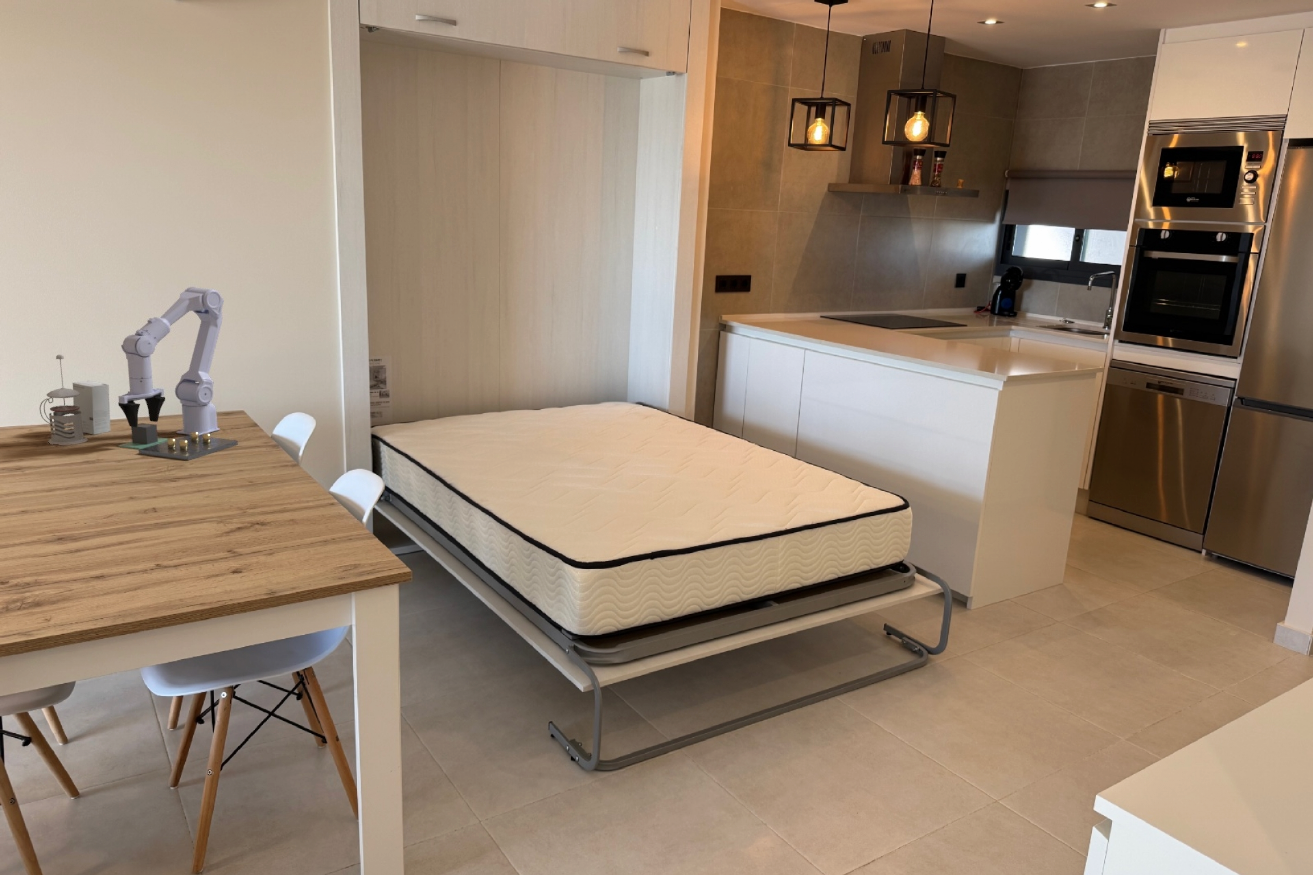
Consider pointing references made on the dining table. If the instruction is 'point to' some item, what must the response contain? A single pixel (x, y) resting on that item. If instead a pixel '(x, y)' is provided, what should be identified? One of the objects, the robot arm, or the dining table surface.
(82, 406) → the skincare box
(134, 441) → the board
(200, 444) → the plate
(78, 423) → the french press
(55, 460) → the dining table surface
